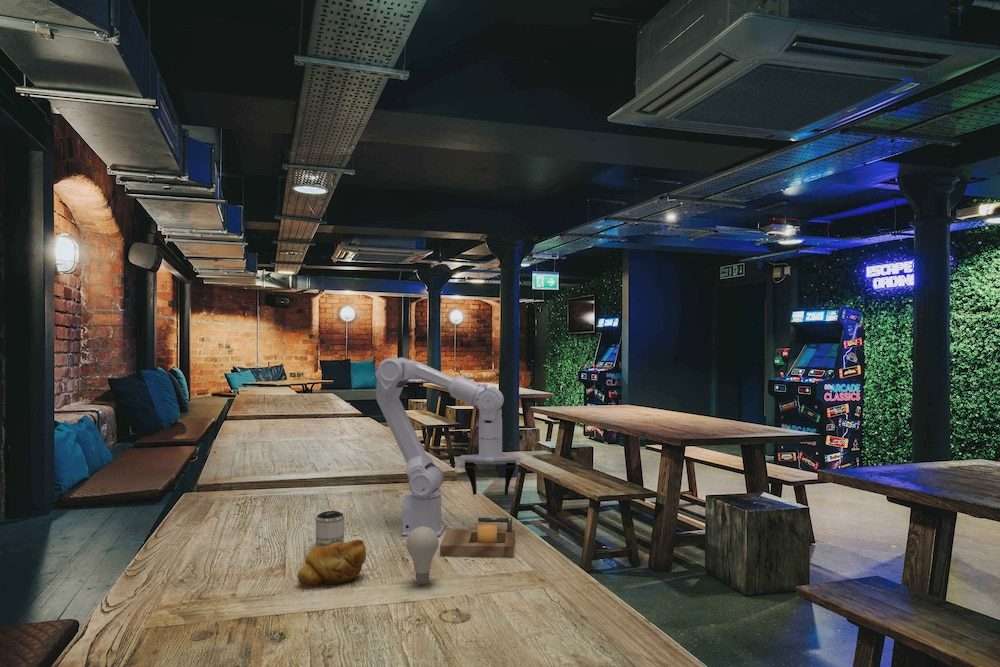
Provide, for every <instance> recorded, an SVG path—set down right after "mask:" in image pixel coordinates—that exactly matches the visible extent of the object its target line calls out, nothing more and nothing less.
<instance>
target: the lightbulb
mask: <svg viewBox="0 0 1000 667" xmlns="http://www.w3.org/2000/svg"><path fill="white" fill-rule="evenodd" d="M438 548H439V536H437V534H436V533H435V532H434V531H433V530H432V529H431V528H429V527H425V526H422V527H418V528H415V529H414V530H413V531H412V532H411V533H410V534H409V535H407V538H406V550H407V552H408V554H409V555H410V557H411V560H412V562H413V570H414V572H415V582H416V583H418V584H419V585H420V586H424V585H426V584H427V583H428V582H429V581H430V574H431V573H430V572H431V569H432V562H433V558H434V557H435V555H436V553H437V551H438Z"/></svg>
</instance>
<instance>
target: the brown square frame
mask: <svg viewBox="0 0 1000 667" xmlns="http://www.w3.org/2000/svg"><path fill="white" fill-rule="evenodd" d="M515 540H516V530H515V529H512V532H507V529H497V542H505V543H472V542H478V529H460V528H459V529H448V528H447V530H446V531H445V534H444V536H443V538H442V540H441V542H440V545H439V557H440V556H447V557H449V558H450V557H451V558H498V557H503V559H504V558H505V559H507V558H509V559H512V558H513V559H514V558H515V557H514V555H515V545H514V544H515V543H516V541H515ZM447 557H446V558H447Z"/></svg>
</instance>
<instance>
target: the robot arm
mask: <svg viewBox="0 0 1000 667" xmlns="http://www.w3.org/2000/svg"><path fill="white" fill-rule="evenodd" d="M374 375H375V378H376V388H375V389H376V392H375V393H376V394H375V399H376V403H377V404H378V406H379V408H380V410H381V412H382V415H383V416H384V418H385V421H386V423H387V425H388V427H389V429H390V432H391V433H392V435H393V438H394V439H395V441H396V443H397V446H398V447H399V448H398V449H399V450H400V452H401V454H402V456H403V458H404V461H405V463H406V472H405V473H406V475H407V478H408V485H409V486H408V488H409V490H410V492H411V495H410V494H409V495H407V494H406V495H404V497H403V499H402V507H401V511H402V512H401V516H402V517H401V524H402V525H401V536H409V534H410V533H411V532H412V531H413V530H414V529H415V528H418V527H422V526H425V527H429V528H431V529H432V530H433V531H434V532H435V533H436V534H437V537H439V536H441V535H442V533H443V531H444V529H445V528H446V526H445V524H442V492H441V489H440V487H441V486H442V484H443V483H444V473H443V470H442V469H441V468H440V467H439V466H437V465H436V464H435V462H434V460H433V458H431V457H430V456H429V455H428V454H427V453H426V451H425V449H424V447H423V445H422V443H421V441H420V439H419V436H418V435H417V433H416V430H415V428H414V426H413V424H412V422H411V420H410V418H409V416H408V414H407V411H406V410H405V408H404V405H403V403H402V401H401V400H400V396H401V394H402V391H403V389H404V387H405V385H406V384H407V383H408V381H410V380H415V379H416V380H417V379H418V380H422V381H425V382H427V383H430V384H433V385H434V386H438V387H440V388H443V389H444V390H448V393H449V394H450V397H452V398H454V399H456V400H459V401H460V402H464V403H465V404H467V405H471V406H473V407H476V408H477V409H478V411H479V412H478V417H479V419H478V454H461V455H460V457H459V460H460V461H459V463H460V465H464V470H465V472H466V475H467V477H468V479H469V483H470V486H471V489H472V495H473V496H476V495H477V489H478V487H477V465H505V466H504V474H505V483H504V496H508V494H509V487H510V483H511V480H512V478H513V475H514V472H515V470H516V467H517V465H518V466H519V465H521V455H513V454H512V455H511V454H503V418H502V415H503V414H502V413H503V412H502V411H503V410H502V406H504V405H503V404H504V402H505V401H504V400H505V399H504V395H503V393H502V392H501V391H500V390H499V389H497V388H496V387H495V386H492V387H488V384H487V383H485V382H484V383H479V382H478V381H475V380H473V379H470V378H471V376H470V375H467V374H465V375H457V376H455V377H452V376H450V375H448V374H446V373H444V372H441V371H440V370H437V369H435V368H433V367H431V366H428V365H426V364H424V363H422V362H419V361H416V360H414V359H408V358H407V357H401V356H400V357H397V358H394V357H387V358H384V359H383V360H382V361H381V362H380V363H379V365H378V367H377V369H376V372H375V374H374Z"/></svg>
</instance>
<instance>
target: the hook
mask: <svg viewBox="0 0 1000 667" xmlns="http://www.w3.org/2000/svg"><path fill="white" fill-rule="evenodd" d="M477 520H478V523H506V530H507V532H512V530H513V517H510V516H509V517H478V519H477Z"/></svg>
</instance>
